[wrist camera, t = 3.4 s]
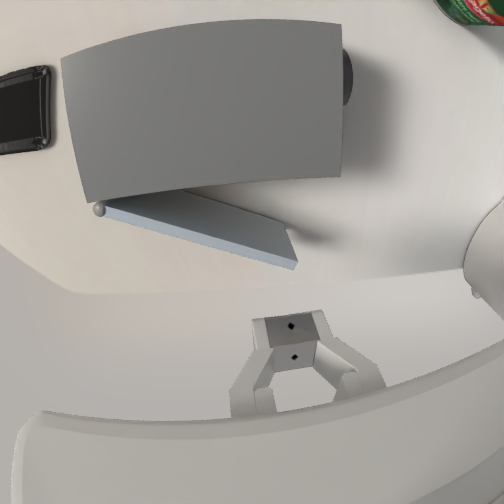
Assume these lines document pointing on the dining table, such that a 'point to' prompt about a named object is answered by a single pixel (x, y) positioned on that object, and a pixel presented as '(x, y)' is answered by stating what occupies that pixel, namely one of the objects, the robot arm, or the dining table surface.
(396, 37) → the dining table surface
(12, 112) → the phone
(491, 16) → the canned tomato
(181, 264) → the dining table surface
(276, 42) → the box
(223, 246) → the side door
